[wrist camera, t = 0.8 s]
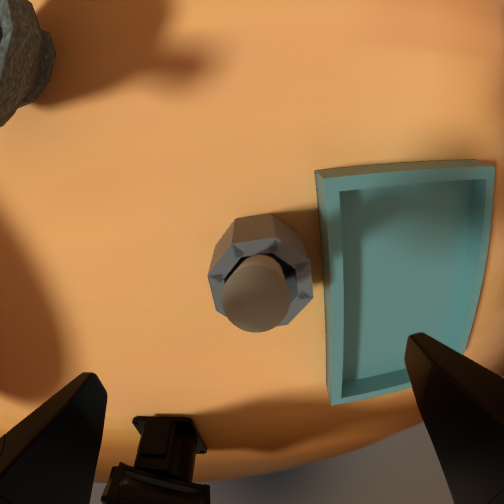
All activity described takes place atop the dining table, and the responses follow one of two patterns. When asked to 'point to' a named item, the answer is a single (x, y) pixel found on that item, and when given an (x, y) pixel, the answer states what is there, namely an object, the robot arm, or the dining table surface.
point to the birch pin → (256, 294)
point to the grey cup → (262, 242)
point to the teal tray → (399, 265)
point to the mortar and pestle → (22, 57)
